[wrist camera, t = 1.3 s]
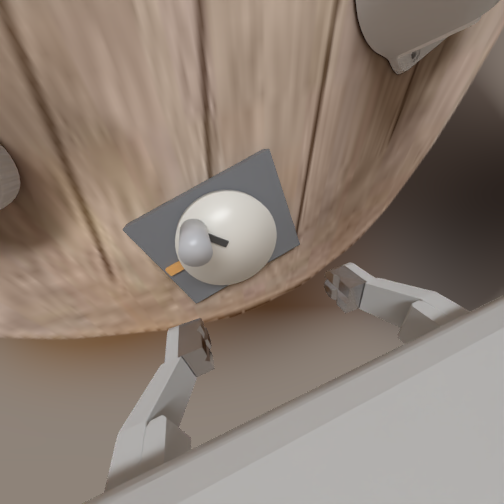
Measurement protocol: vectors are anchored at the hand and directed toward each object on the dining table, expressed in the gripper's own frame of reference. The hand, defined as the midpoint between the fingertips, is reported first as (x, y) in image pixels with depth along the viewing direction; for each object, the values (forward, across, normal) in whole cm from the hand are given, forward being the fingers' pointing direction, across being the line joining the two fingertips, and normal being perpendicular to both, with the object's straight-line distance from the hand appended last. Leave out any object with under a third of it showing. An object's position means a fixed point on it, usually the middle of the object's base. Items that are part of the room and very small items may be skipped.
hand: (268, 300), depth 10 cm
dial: (+19, 0, +6) cm, 20 cm away
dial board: (+22, 0, +6) cm, 22 cm away
